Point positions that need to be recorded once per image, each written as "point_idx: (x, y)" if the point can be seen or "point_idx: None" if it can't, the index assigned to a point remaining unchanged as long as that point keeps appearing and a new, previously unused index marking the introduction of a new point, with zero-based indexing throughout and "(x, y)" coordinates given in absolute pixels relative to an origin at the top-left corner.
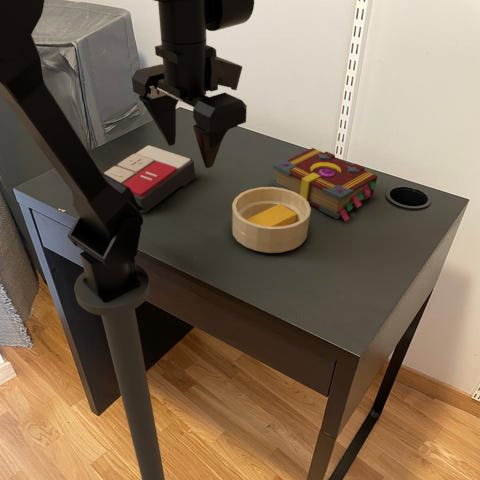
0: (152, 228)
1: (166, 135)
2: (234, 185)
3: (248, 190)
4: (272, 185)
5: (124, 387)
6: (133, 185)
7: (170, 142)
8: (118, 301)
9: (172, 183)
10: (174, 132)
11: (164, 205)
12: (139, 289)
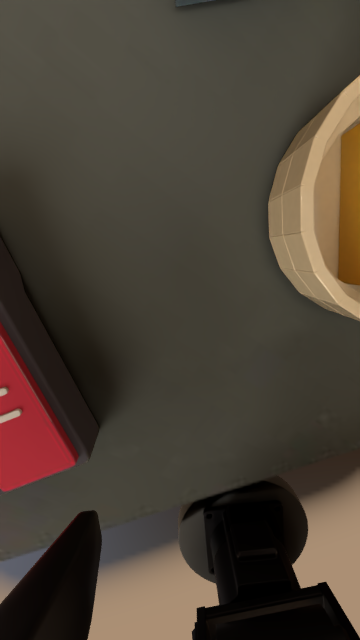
0: (167, 440)
1: (84, 630)
2: (92, 125)
3: (305, 196)
4: (179, 4)
5: None
6: (20, 463)
7: (96, 552)
8: (293, 544)
9: (31, 332)
10: (74, 580)
11: (88, 371)
12: (289, 507)
